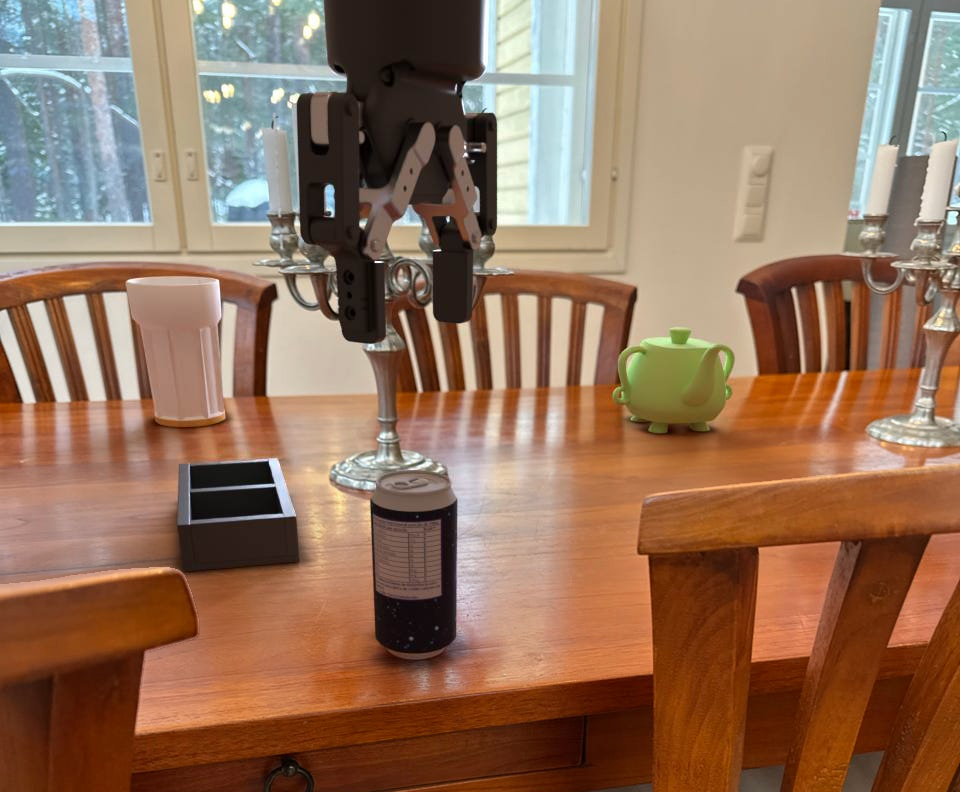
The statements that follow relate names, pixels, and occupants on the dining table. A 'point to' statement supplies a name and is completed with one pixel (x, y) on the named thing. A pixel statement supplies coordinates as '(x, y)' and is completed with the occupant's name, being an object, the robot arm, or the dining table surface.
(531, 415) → the dining table surface
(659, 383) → the teapot
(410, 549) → the beverage can
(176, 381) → the cup
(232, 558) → the holder
